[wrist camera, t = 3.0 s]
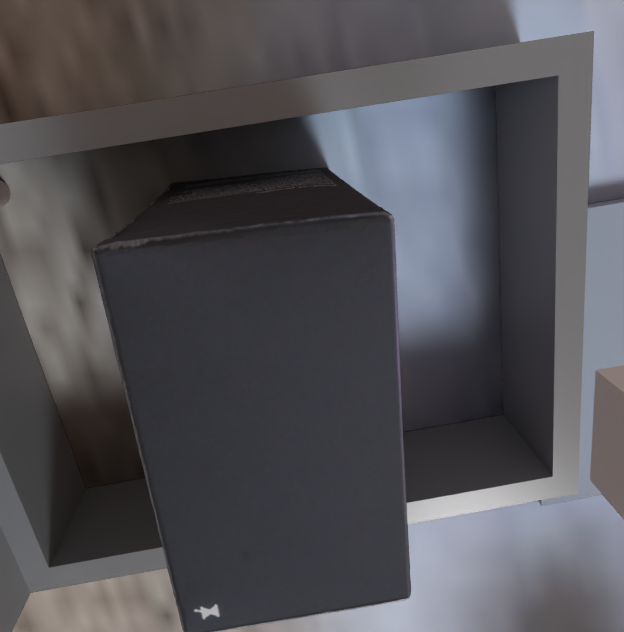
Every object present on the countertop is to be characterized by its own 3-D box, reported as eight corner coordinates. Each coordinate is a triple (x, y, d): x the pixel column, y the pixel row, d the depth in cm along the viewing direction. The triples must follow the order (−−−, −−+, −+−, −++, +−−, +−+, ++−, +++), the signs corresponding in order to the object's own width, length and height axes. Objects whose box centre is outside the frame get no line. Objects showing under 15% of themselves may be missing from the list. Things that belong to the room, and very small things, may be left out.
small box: (358, 408, 24) (424, 612, 14) (210, 428, 24) (174, 649, 14) (338, 162, 20) (410, 208, 11) (162, 181, 20) (69, 248, 10)
